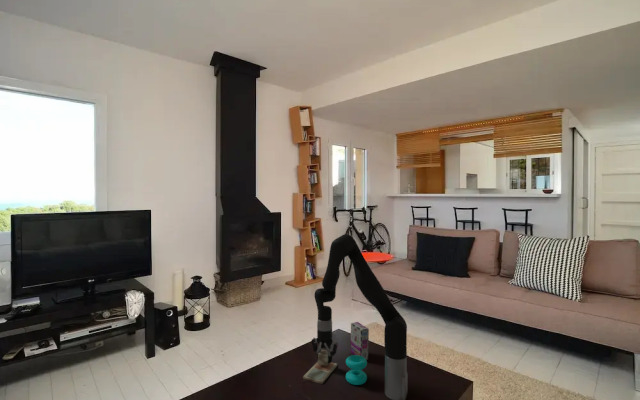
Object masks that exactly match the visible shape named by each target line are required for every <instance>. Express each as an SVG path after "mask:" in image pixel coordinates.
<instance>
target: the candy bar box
mask: <svg viewBox="0 0 640 400" xmlns="http://www.w3.org/2000/svg"><path fill="white" fill-rule="evenodd" d="M369 332H370V331H369V328H368V327H367V326H365V325H363V324H362V323H360V322H358V321H355V322H351V323H350V353H351V354H352V355H360V356H362V357H364V358H365V359H366V360H369V342H370V341H369V336H370V335H369V334H370V333H369Z"/></svg>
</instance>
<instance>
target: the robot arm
mask: <svg viewBox="0 0 640 400" xmlns="http://www.w3.org/2000/svg"><path fill="white" fill-rule="evenodd" d="M346 257H348V259H349V260H350V262H351V264H352V266H353V272H354V277H355V282H356V285H357V287H358V289H359V290H360V293H361V294H362V295H363V298H365V300H367V301H368V303H370V304H371V305H372V306H373V308H375V309H376V310H377V312H378V314H379V315H380V316H381V318H382V320H383V322H384V325H385V326H384V331H383V332H384V334H383V335H384V337H383V339H384V340H383V341H384V395H385V396H386V397H387V398H388V399H390V400H406V399H407V396H408V379H409V378H408V371H407V367H408V366H407V361H408V360H407V359H408V357H407V356H408V354H407V347H408V345H407V342H408V341H407V339H408V338H407V337H408V336H407V335H408V334H407V333H408V325H407V322H406V319H404V317H403V316H402V314H401V313H400V312H399V311H398V310H397V308H396V307H395V306H394V305H393V303H392V302H391V300H390V298H389V296H388V294H387V293H386V290H385V289H384V287H383V286H382V284H381V283H380V281H379V279H378V278H377V276H376V275H375V273H374V272H373V270H372V269H371V267H370V265H369V264H368V262H367V261H366V259H365V257H364V255H363V253H362V251H361V249H360V247H359V245H358V243H357V241H356V240H355V239H354V238H353V237H352V235H350V234H347V233H344V234H342V235H340V236H338V237H336V238H335V239H334V240H332V241H331V244H330V247H329V254H328V260H327V266H326V270H325V273H324V276H323V278H322V280H321V281H322V282H321V284H322V287H320V288H317V289H316V290H315V291H314V295H313V296H314V301H315V304H316V308H317V321H316V322H317V323H316V325H317V326H316V327H317V330H316V337H313V338H312V339H311V344H312V350H313V352H316V358H317V359H316V360H318V353H319V352H320V351H321V350H323V349H324V350H326V351H327V352H328V355H329V356H328V363H331V362H332V363H333V357H334V356H335V355H336V353H337V350H338V345H339V344H338V343H339V342H337V341H336V342H334V341H333V320H332V319H333V318H332V317H333V316H332V315H333V311H332V310H333V309H332V307H331V306H329V305H324V303H329V302H333V301H334V300H335V299H336V294H337V293H336V291H337V290H336V289H337V287H336V286H337V284H338V282H339V280H340V279H339V278H340V275H341V271H340V267H341V265H342V262H343V261H344V259H345V258H346ZM332 348H333V349H332Z"/></svg>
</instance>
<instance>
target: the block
mask: <svg viewBox="0 0 640 400" xmlns="http://www.w3.org/2000/svg"><path fill="white" fill-rule="evenodd" d="M328 356H329V355H328V352H327V350H326V349H321V351H320V352H319V353H318V359H317V361H318V364H321V365H325V366H328V364H329V363H328Z"/></svg>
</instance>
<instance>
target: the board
mask: <svg viewBox="0 0 640 400" xmlns="http://www.w3.org/2000/svg"><path fill="white" fill-rule="evenodd" d="M337 366H338V363H336V362H335V363H334V362H333V361H332V362H331V363H329V364H328V366H325V365H321V364H318V360H317V361H316V362H315V363H314V364H313V366H312V367H311V368H310V369H309V370H308V371H307V372H306V373H305V374H304V375H303V376H302V379H303V380H305V381H310V382H313V383H317V384H321V385H323V384H324V383H325V381H326V380H327V379H328V378H329V376H330V375H331V374H332V373H333V371H334V370H335V369H336V368H337Z"/></svg>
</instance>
